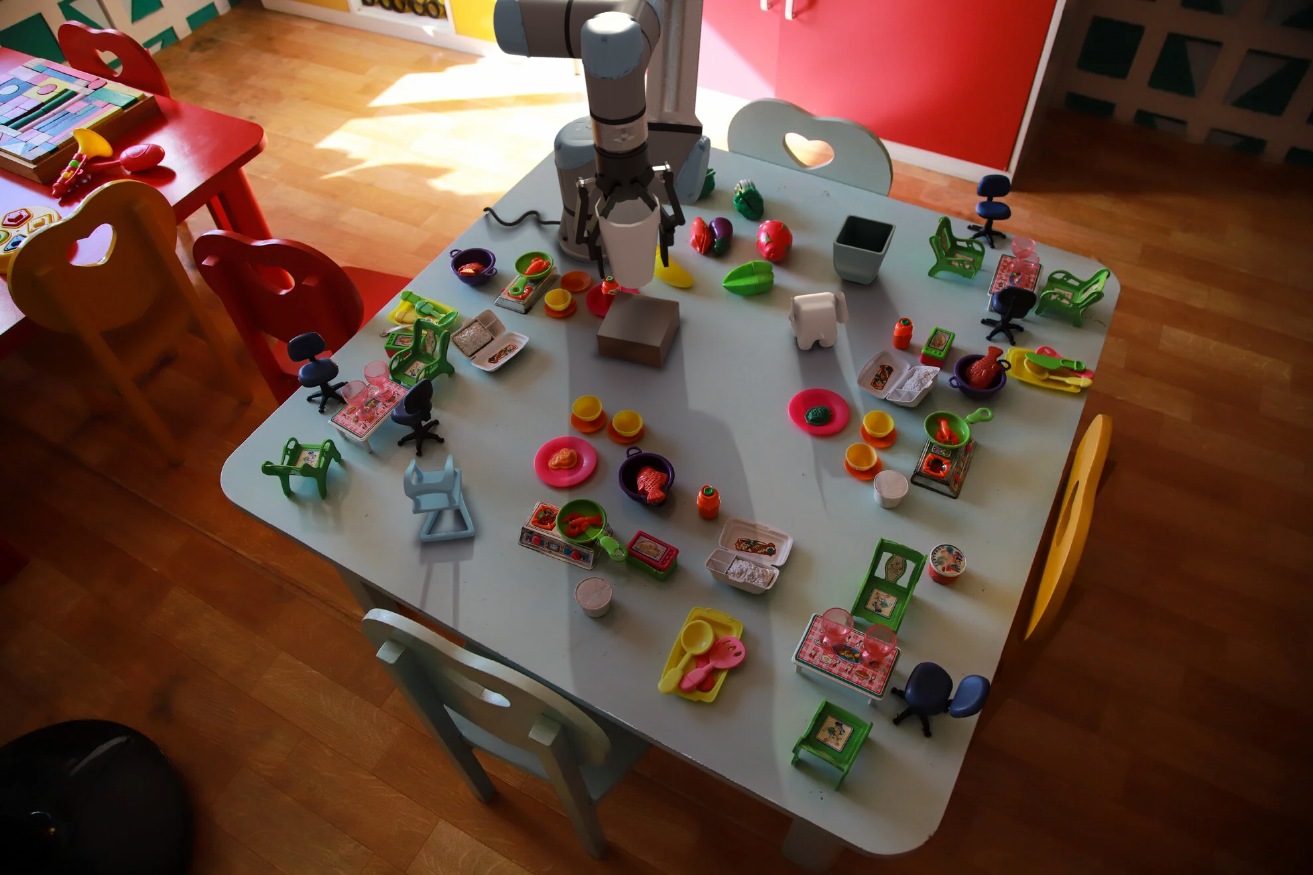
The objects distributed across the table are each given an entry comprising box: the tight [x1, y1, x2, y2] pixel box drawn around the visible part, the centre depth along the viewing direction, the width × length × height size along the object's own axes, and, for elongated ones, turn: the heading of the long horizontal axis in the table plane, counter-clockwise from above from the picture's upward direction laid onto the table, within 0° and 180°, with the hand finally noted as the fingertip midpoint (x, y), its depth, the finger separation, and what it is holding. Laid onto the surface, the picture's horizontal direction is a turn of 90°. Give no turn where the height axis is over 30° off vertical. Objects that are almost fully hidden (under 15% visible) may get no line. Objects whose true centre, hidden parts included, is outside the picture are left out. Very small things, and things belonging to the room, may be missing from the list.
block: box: [595, 290, 681, 368], centre depth 139 cm, size 11×11×5 cm
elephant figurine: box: [788, 291, 850, 351], centre depth 136 cm, size 10×12×9 cm
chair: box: [403, 454, 476, 543], centre depth 116 cm, size 8×8×12 cm
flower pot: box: [832, 213, 897, 286], centre depth 144 cm, size 9×9×9 cm
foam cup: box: [595, 194, 661, 290], centre depth 124 cm, size 10×9×13 cm
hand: (633, 267), depth 128 cm, fingers closed on foam cup, 9 cm apart
